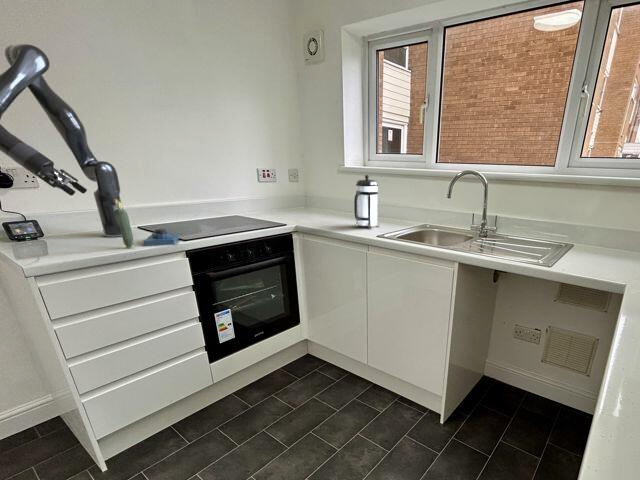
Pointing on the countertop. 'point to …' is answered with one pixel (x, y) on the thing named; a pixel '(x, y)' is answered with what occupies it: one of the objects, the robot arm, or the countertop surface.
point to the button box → (161, 239)
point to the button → (160, 231)
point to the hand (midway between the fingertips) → (79, 192)
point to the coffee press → (366, 202)
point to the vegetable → (123, 224)
